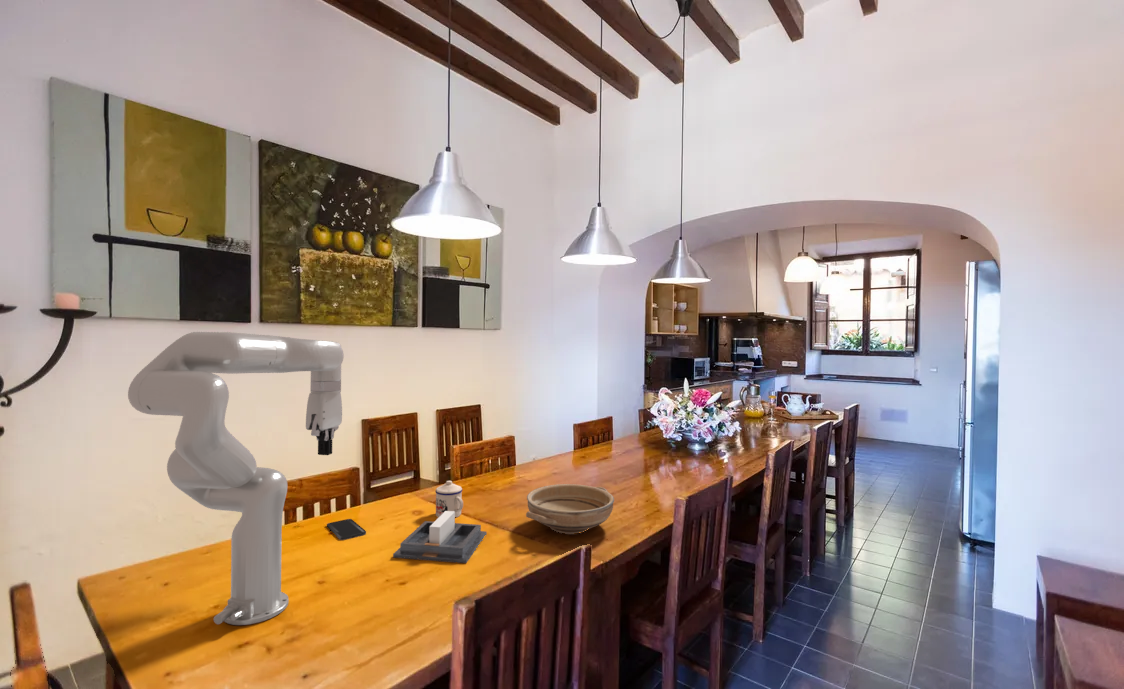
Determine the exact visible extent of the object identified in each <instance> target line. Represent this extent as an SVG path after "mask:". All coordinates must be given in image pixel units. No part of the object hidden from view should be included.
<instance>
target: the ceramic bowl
mask: <svg viewBox="0 0 1124 689" xmlns="http://www.w3.org/2000/svg"><path fill="white" fill-rule="evenodd" d="M526 500H527V508H528V511H527V512H526V513H525V516H526V518H527V519H532V520H534V521H537V522H538V523H540V524H541V525H544V526H545V527H548V528H549V527H550V529H551V530H552V531H553V530H554V531H553V532H555V531H556V532H555V533H558V532H559V534H562V533H565V534H564V535H575V534H574V533H579V532H583V531H585V530H587V529H588V528H589V529H592V528H595V527H597V526H600V525H601V524H603V523H605V522H606V521H607V519H609V517H610V516H611V514H612V512H613V510H614V502H615V497H614V496H613V494H611V493H610V492H609V491H608V490H607V489H606V488H605V487H602V486H591V485H584V484H577V483H576V484H573V483H572V484H571V483H570V484H569V483H566V484H564V483H563V484H562V483H561V484H551V485H545V486H541V487H538V488H535V489H533V490H531V491H530V492H529V493H528V494H527V496H526Z"/></svg>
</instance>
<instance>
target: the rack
mask: <svg viewBox="0 0 1124 689" xmlns="http://www.w3.org/2000/svg"><path fill="white" fill-rule="evenodd" d="M434 522H435V521H430V520H429V521H428V520H427V521H426V520H425V521H423V522H422V523H421V524H420V525H419V526H418V527H417V528H415V530H414V531H412V533H411V534H409V535H408V536H407V537H406V538H405V539H404V540H403V541H401V542H400V547H398V549H397V550H396V551H394V553H392V558H393V559H394V558H395V559H408V560H417V561H418V560H419V561H433V562H445V563H456V562H457V563H459V564H467V562H468V561H469V560H470V559H471V557H472V556H473V555H474V553H475V552H474V551H476V550H477V549H478V547H479V546H480V545H481V543H482V542H483V540H484V539H485V538H484V536H485V535H486V536H487V531H483V530H481V529H482V526H481V524H473V523H460V522H459V523H458V522H455V529H454V530H453V531H452V532H451V534H450V535H449V536H448V537H447V538H446V539H445V540H444V541H443V542H442V543H441V545H440V544H437V543H429V530H430V526H431V525H432V524H433V523H434ZM486 536H485V537H486ZM483 538H484V539H483ZM482 539H483V540H482ZM481 541H482V542H481ZM480 542H481V543H480ZM479 544H480V545H479ZM478 545H479V546H478ZM476 548H477V549H476Z"/></svg>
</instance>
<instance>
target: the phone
mask: <svg viewBox="0 0 1124 689" xmlns="http://www.w3.org/2000/svg"><path fill="white" fill-rule="evenodd" d="M327 527H328V528H329V529H330V530H331V531H332V532H333V533H334V534H335V535H336V536H335V535H334V536H335V537H337V538H338V540H340V541H345V540H349V539H350V540H351V539H354V538H358V537H363V536H366V534H367V530H366V529H364V528H363V527H362V526H361V525H359V524H358V523H357V522H356V521H355V520H354V519H352V518H346V519H342V520H336V521H331V522H328V523H326V528H327ZM328 528H327V529H328ZM329 529H328V530H329ZM330 530H329V531H330ZM331 531H330V532H331ZM332 532H331V533H332ZM333 533H332V534H333Z"/></svg>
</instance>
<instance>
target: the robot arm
mask: <svg viewBox="0 0 1124 689" xmlns="http://www.w3.org/2000/svg"><path fill="white" fill-rule="evenodd" d="M344 357H345V356H344V350H343V348H342V345H341V343H340V342H339V341H338V342H337V341H333V340H317V339H306V338H295V337H289V336H280V335H279V336H278V335H269V334H266V335H265V334H255V333H241V332H231V331H230V332H229V331H227V332H225V331H224V332H223V331H222V332H219V331H217V332H216V331H193V332H188V333H186V334H183V335H182V336H181V337H179V338H177V339H176V340H175V341H174V342H171V344H170V345H168V346H166V348H165V349H163V351H161V352H160V353H159V354H158V355H157V356H155V358H154V359H153V360H151V361H150V362H148V363H147V364H146V366H144V367H143V368H142V369H141V370H140V371H139V372H137V374H136V375H135V376H134V377H133V379H132V381H131V382H130V384H129V387H128V390H127V398H128V401H129V404H130V405H131V406H132V407H133V408H134V409H135V410H136V411H138V412H140V413H143V414H146V415H153V416H154V415H155V416H174V417H175V416H176V417H182V419H181V423H180V426H179V429H178V432H177V435H176V438H175V443H174V448H175V449H174V450H173V451H172V452H171V454H170V455H169V458H168V460H167V464H166V470H167V475H168V477H169V480H170V482H171V483H172V485H174V487H176V488H177V489H178V490H180V491H181V492H183V493H184V494H186V495H187V496H188V497H190V498H191V499H192V500H194V501H196V502H197V503H198V504H200V505H201V506H203V507H205V508H208V509H211V510H216V511H226V512H227V511H229V512H237V513H238V512H239V513H241V517H240V518H239V520H238V521H237V523H236V524H235V526H234V528H233V529H232V532H231V538H230V539H231V541H230V542H231V544H230V545H231V547H230V548H231V551H230V553H231V554H230V556H231V558H230V560H231V562H230V563H231V564H230V565H231V566H230V570H231V571H230V597H229V599H227V604H226V606H225V607H224V608H223V609H222V611H220V612H219V613H218V614H216V615H214V617H213V622H214V624H216V625H221V624H222V623H225V624H226V623H227V624H228V625H231V626H248V625H253V624H258V623H261V622H264V621H267V620H269V619H272V618H274V617H276V616H277V615H279V614H281V613H282V612H283V611H285V609H286V608H287V607H288V605H289V602H290V601H289V596H288V594H286V593H285V592H282V540H283V538H282V528H283V527H282V526H283V511H284V506H285V501H286V497H287V493H288V480H287V478H286V477H285V476H286V475H284V474H283V472H281V471H280V470H278V469H274V468H269V467H258V466H257V462H256V461H257V460H256V459H255V456H254V454H252V453H251V451H250V450H249V449H248V448H247V447H246V446H245V445H243V443H241V441H239V440H238V439H237V438H236V437H235V436H234V435H233V434H232V433H230V431H229V430H228V429H227V428H226V425H225V424H226V422H225V420H226V413H227V412H226V411H227V407H228V403H229V398H230V395H229V394H230V392H229V387H228V385H227V383H226V381H225V380H224V379H223V378H222V377H221V376H219V375H217V374H228V375H229V374H233V375H234V374H236V375H237V374H271V373H272V374H274V373H275V374H278V373H279V374H281V373H282V374H284V373H296V372H310V384H309V385H310V391H309V395H308V398H307V404H306V414H305V429H306V430H308V431H311V432H310V436H313V437H316V441H317V455H319V456H329V455H332V454H333V439H334V437H335V432H336V431H337V430H339V428H340V427H339V426H341V424H342V422H343V406H342V405H343V403H342V394H341V392H342V364H343V361H344Z"/></svg>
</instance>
